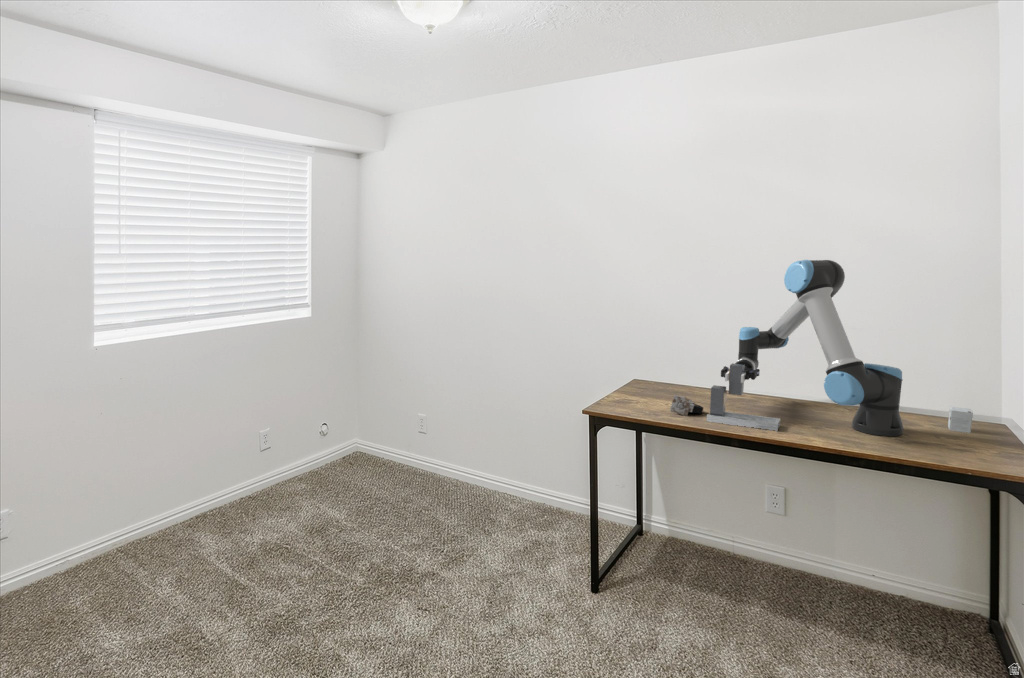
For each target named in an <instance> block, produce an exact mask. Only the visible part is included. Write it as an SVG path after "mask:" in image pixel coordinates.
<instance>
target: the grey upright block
mask: <svg viewBox="0 0 1024 678" xmlns="http://www.w3.org/2000/svg"><path fill="white" fill-rule="evenodd" d="M744 367H745V364H735V363H734V362H733V363H731V364H730V365H729V380H728V395H732V396H733V395H736V396H742V395H743V394H744V387H745V385H744V382H745V381H744V382H743V383H741V375H742V374H743V373H744Z"/></svg>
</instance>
